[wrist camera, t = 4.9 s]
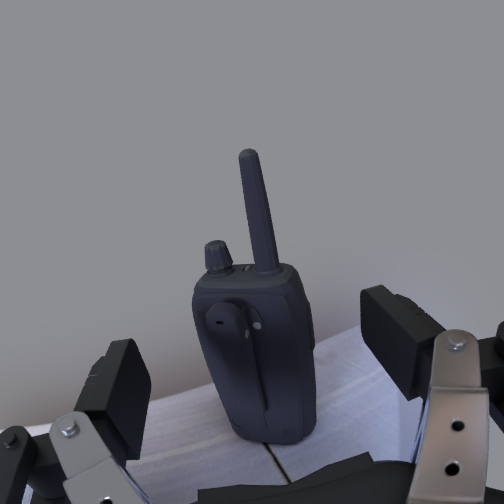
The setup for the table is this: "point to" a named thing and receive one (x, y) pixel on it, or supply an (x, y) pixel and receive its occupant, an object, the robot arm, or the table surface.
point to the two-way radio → (258, 329)
